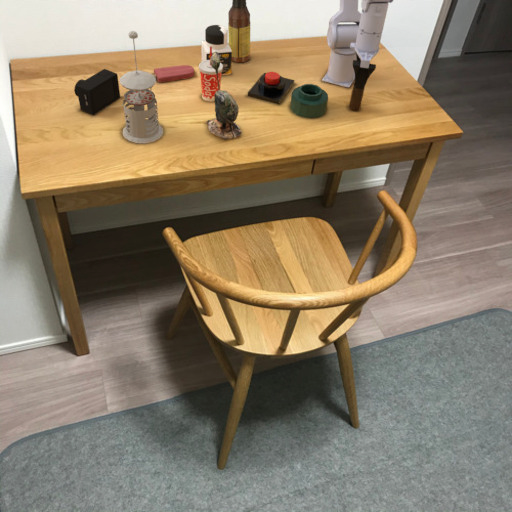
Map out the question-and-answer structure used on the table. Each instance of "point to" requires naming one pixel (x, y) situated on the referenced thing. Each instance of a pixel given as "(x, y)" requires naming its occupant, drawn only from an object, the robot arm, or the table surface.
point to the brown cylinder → (356, 98)
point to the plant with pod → (223, 109)
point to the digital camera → (97, 91)
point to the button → (272, 78)
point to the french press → (140, 105)
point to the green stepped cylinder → (309, 101)
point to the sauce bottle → (239, 31)
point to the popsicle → (173, 73)
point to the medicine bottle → (217, 46)
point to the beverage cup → (209, 79)
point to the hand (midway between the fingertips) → (359, 80)
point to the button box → (271, 90)
